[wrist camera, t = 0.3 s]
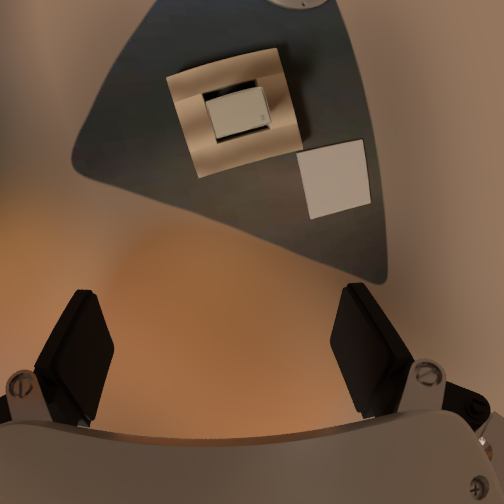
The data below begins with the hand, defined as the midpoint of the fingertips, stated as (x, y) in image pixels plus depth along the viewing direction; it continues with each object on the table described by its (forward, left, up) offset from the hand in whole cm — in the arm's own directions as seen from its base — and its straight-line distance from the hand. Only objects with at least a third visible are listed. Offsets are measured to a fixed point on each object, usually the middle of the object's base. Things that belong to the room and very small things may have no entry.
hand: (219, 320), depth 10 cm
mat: (+8, +16, -34) cm, 39 cm away
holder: (-6, +4, -34) cm, 35 cm away
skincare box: (-6, +4, -35) cm, 35 cm away
